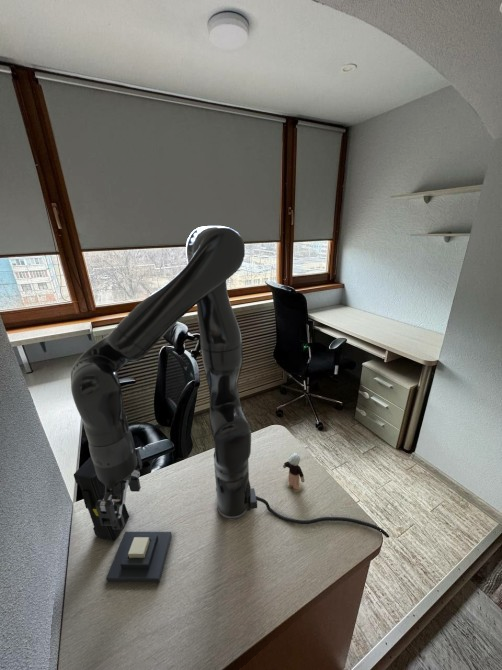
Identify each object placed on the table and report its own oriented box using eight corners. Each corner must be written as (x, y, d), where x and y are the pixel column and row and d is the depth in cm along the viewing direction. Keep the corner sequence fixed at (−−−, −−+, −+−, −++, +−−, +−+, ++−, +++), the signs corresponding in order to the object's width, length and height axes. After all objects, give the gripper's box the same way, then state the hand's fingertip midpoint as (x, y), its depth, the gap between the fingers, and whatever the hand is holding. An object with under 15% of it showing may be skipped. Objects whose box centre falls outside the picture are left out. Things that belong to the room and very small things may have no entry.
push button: (171, 535, 70) (170, 527, 69) (159, 582, 61) (157, 573, 60) (126, 535, 71) (124, 527, 69) (107, 582, 61) (104, 573, 60)
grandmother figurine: (306, 486, 83) (309, 456, 78) (302, 496, 80) (304, 465, 75) (284, 475, 87) (286, 445, 82) (279, 484, 84) (280, 454, 79)
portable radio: (112, 546, 68) (89, 475, 59) (92, 541, 69) (65, 471, 60) (131, 516, 75) (113, 448, 66) (112, 512, 76) (91, 444, 67)
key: (149, 541, 66) (148, 537, 66) (144, 558, 63) (143, 553, 62) (135, 541, 66) (134, 537, 66) (129, 558, 63) (127, 553, 62)
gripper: (115, 483, 46) (131, 543, 52) (146, 426, 59) (156, 479, 66) (72, 482, 46) (93, 542, 52) (112, 425, 59) (125, 478, 66)
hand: (128, 507), depth 59 cm, fingers open, 8 cm apart
